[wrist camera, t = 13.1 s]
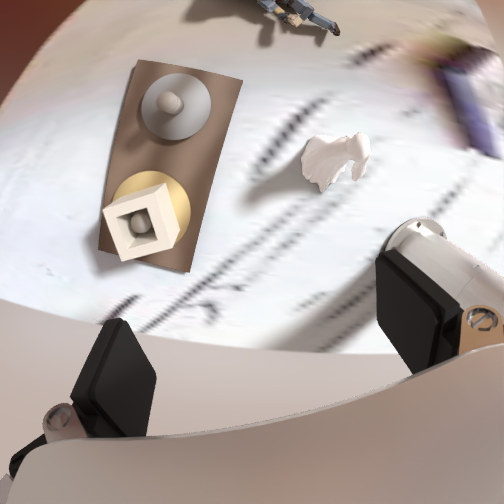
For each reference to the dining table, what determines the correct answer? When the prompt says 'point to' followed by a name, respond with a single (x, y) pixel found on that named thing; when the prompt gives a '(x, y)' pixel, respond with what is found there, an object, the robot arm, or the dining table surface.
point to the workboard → (170, 149)
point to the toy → (301, 7)
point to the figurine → (334, 158)
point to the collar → (161, 218)
